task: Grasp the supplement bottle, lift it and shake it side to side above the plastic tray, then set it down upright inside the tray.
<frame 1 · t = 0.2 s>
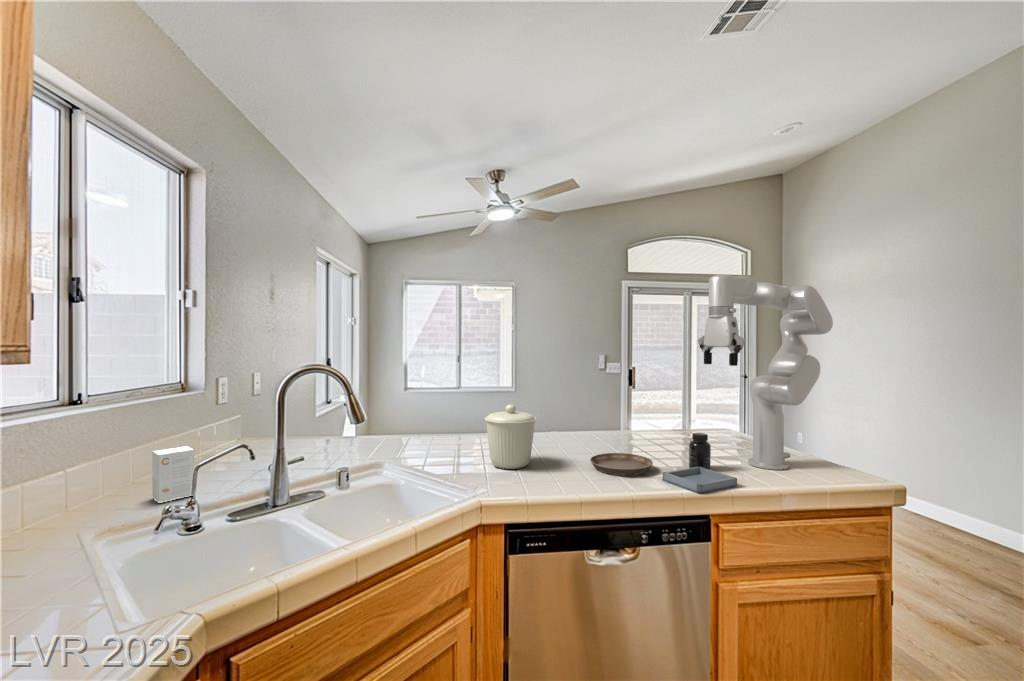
hand: (720, 364, 150), 36 cm above the counter, tool pointing down, fingers open, 9 cm apart
small box: (173, 498, 123), on the counter
supplement bottle: (699, 469, 155), on the counter
tray: (699, 483, 139), on the counter
plant saucer: (620, 470, 155), on the counter
canister: (510, 465, 158), on the counter
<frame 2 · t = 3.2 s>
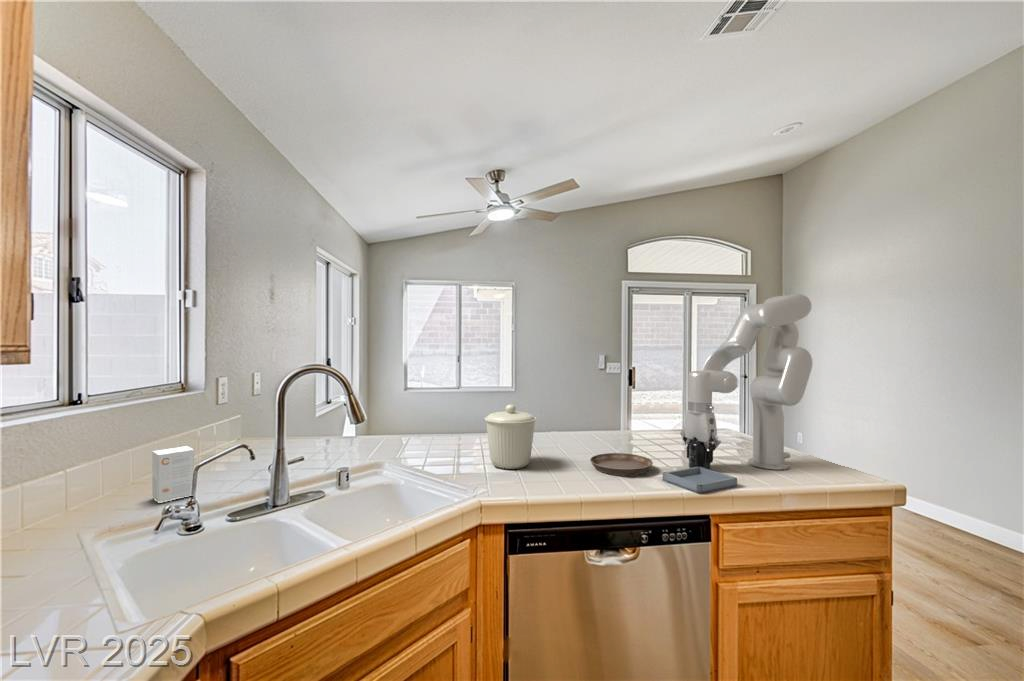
hand: (699, 459, 155), 3 cm above the counter, tool pointing down, fingers closed on supplement bottle, 6 cm apart
supplement bottle: (699, 469, 155), on the counter, touching gripper
everything else where it was.
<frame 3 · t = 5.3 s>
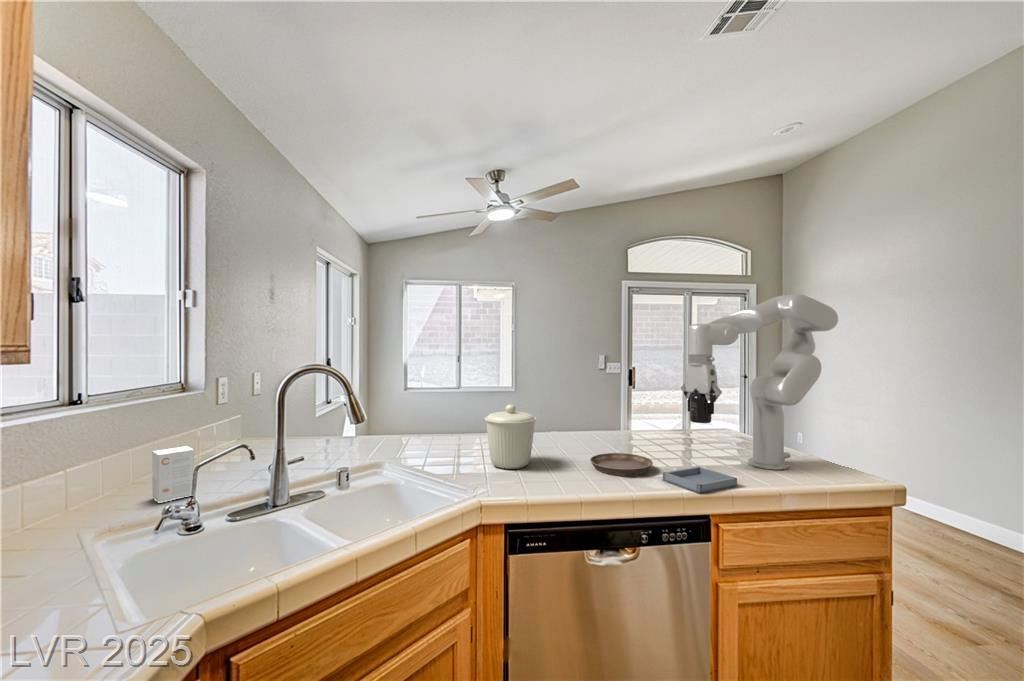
hand: (700, 412, 155), 19 cm above the counter, tool pointing down, fingers closed on supplement bottle, 6 cm apart
supplement bottle: (700, 422, 155), point 16 cm above the counter, touching gripper
everything else where it was.
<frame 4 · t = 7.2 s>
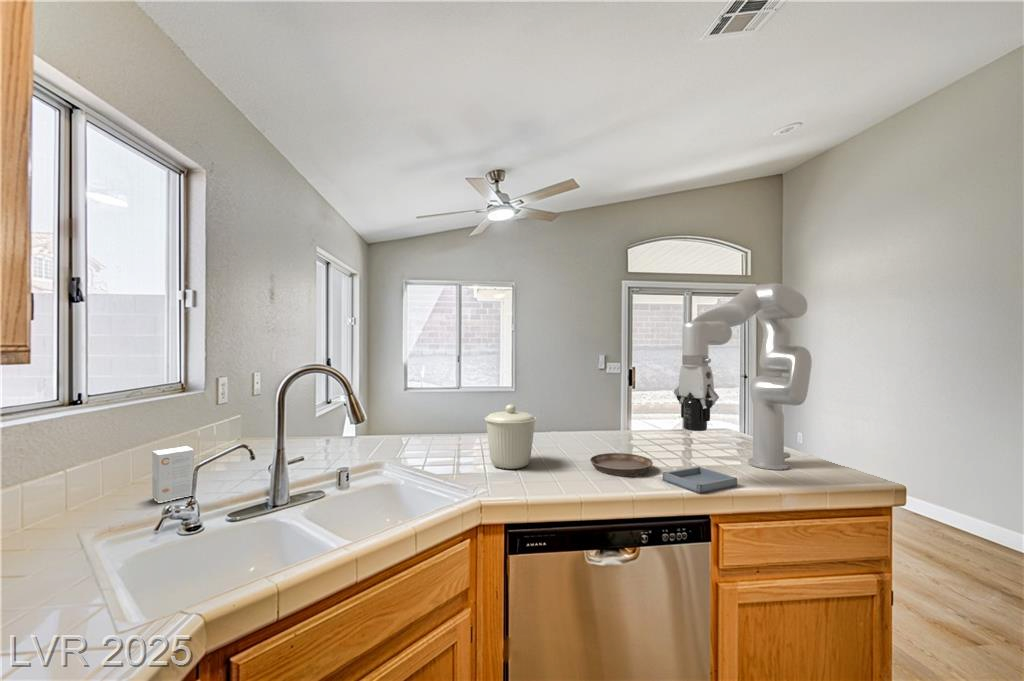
hand: (695, 418, 141), 19 cm above the counter, tool pointing down, fingers closed on supplement bottle, 6 cm apart
supplement bottle: (695, 430, 141), point 16 cm above the counter, touching gripper
everything else where it was.
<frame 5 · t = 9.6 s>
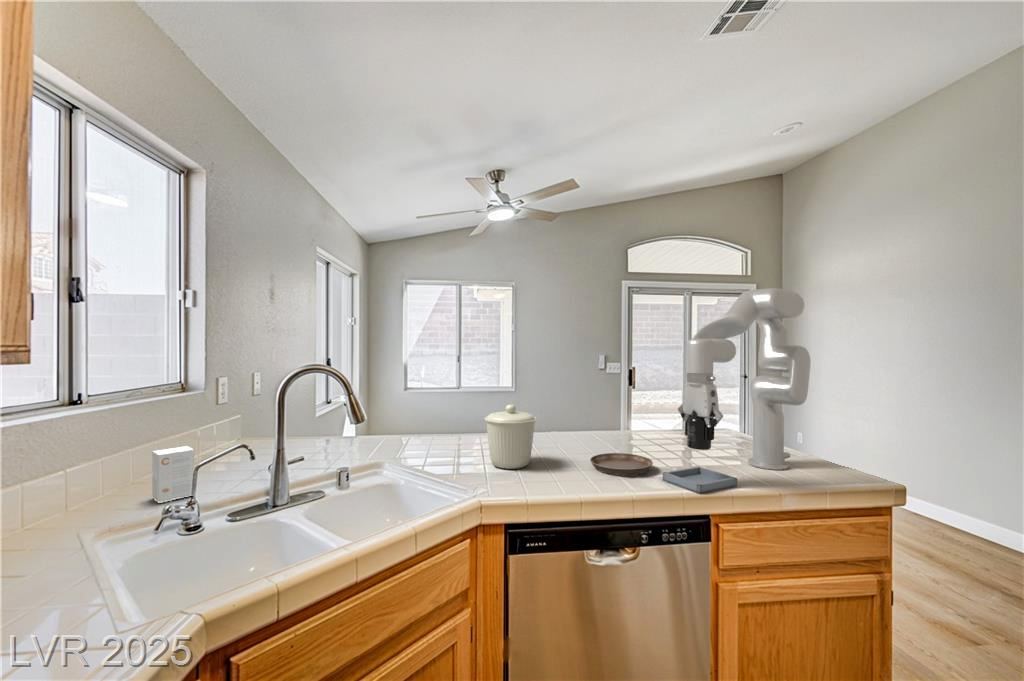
hand: (699, 437, 139), 14 cm above the counter, tool pointing down, fingers closed on supplement bottle, 6 cm apart
supplement bottle: (699, 448, 139), point 11 cm above the counter, touching gripper
everything else where it was.
when the fingers open (6 cm above the counter, at t = 11.6 s): supplement bottle drops 2 cm, resting on tray.
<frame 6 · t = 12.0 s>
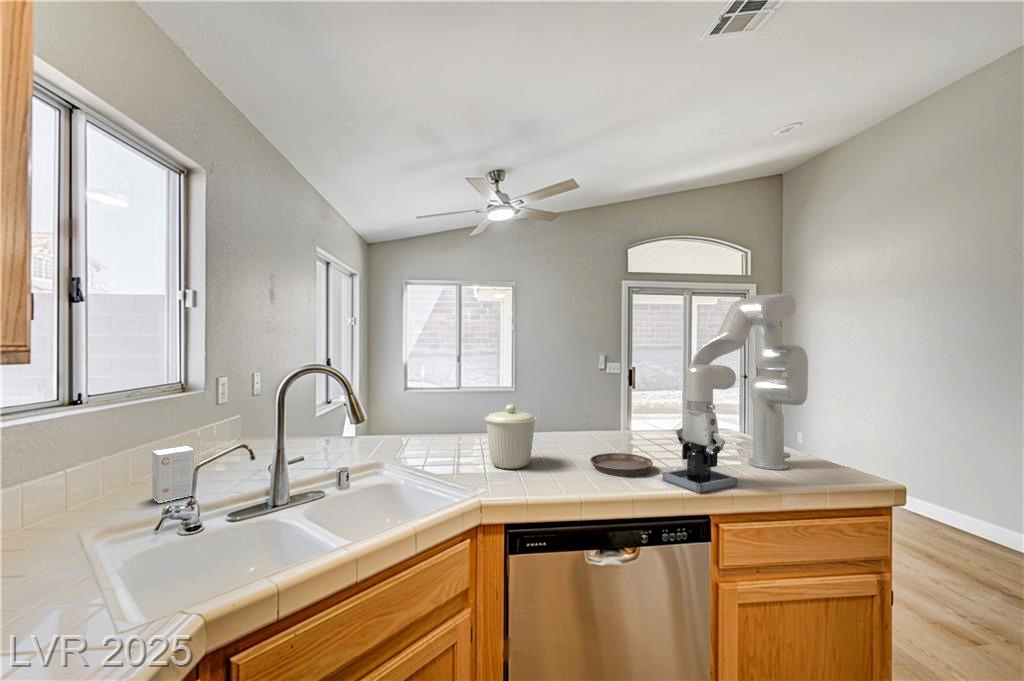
hand: (699, 462, 139), 6 cm above the counter, tool pointing down, fingers open, 9 cm apart
supplement bottle: (698, 481, 140), resting on tray
everything else where it was.
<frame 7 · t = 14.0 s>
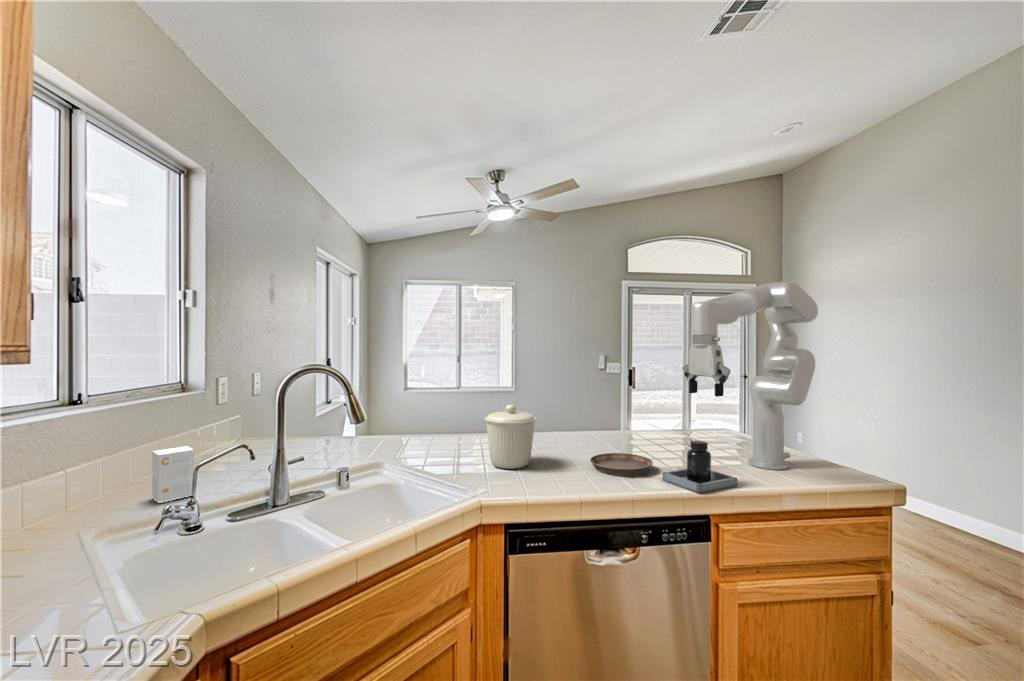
hand: (705, 394, 145), 27 cm above the counter, tool pointing down, fingers open, 9 cm apart
nothing on the counter moved.
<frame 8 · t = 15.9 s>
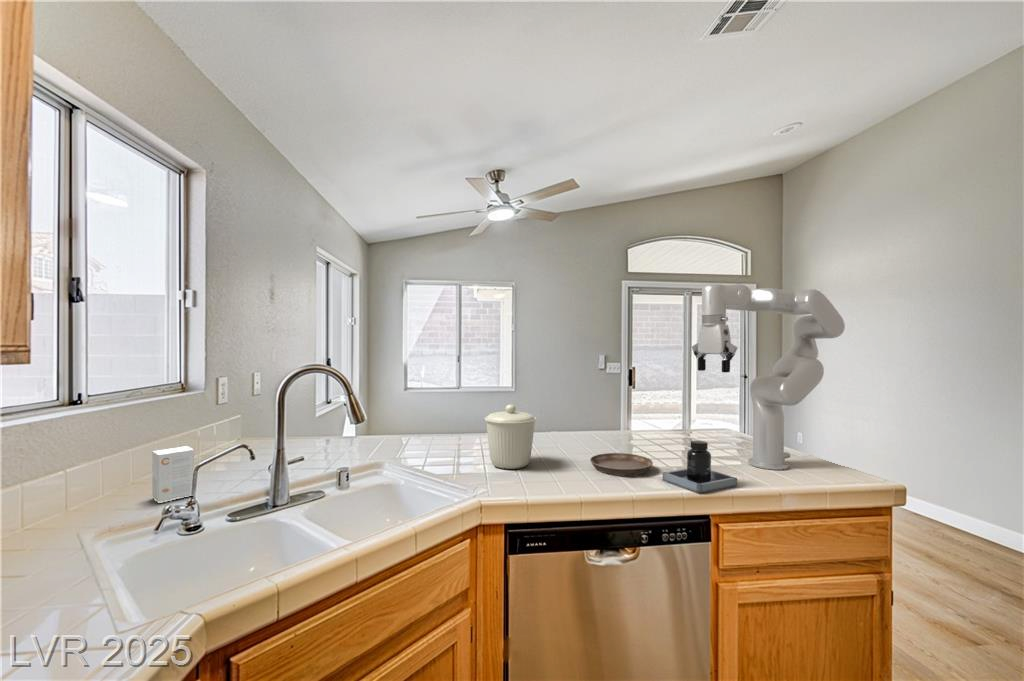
hand: (713, 371, 155), 33 cm above the counter, tool pointing down, fingers open, 9 cm apart
nothing on the counter moved.
at the end: supplement bottle inside the target area on the tray (0.4 cm from its centre), point 0.4 cm above the tray's base; supplement bottle tilted 0°; the gripper is holding nothing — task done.
